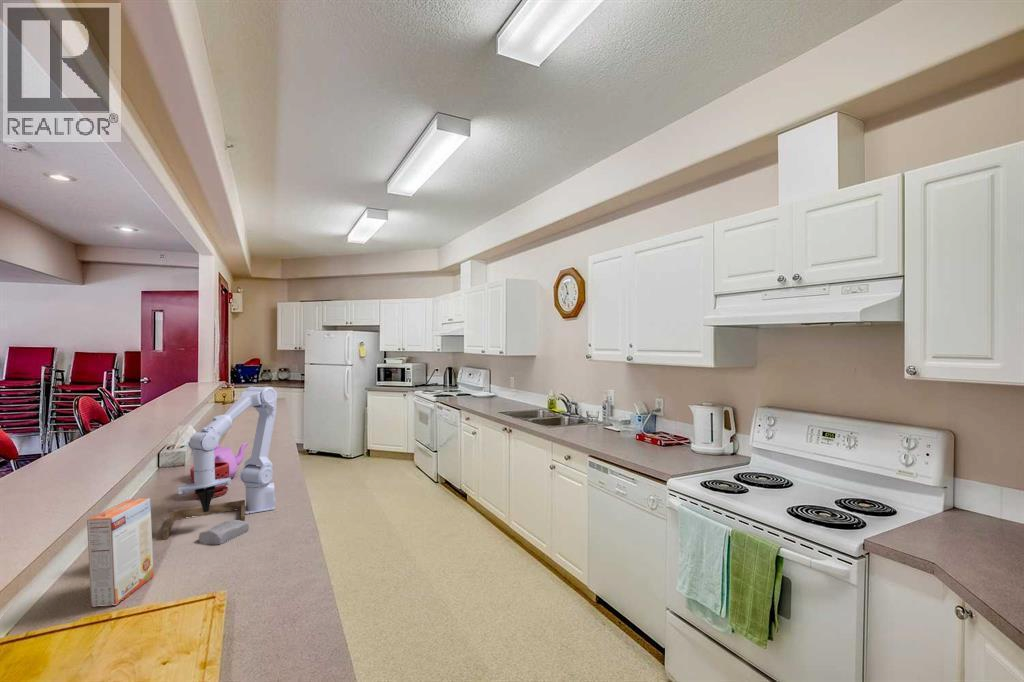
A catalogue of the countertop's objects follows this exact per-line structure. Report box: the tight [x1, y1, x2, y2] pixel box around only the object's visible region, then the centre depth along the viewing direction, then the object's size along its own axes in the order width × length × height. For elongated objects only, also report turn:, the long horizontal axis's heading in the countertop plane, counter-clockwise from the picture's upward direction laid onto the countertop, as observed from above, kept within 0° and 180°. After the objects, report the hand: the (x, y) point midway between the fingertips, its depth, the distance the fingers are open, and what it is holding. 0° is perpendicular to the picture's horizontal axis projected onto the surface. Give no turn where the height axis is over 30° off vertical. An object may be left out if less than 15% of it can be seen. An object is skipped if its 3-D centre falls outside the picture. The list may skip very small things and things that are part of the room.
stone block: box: [198, 519, 250, 545], centre depth 153 cm, size 12×5×10 cm
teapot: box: [192, 441, 251, 479], centre depth 217 cm, size 23×21×15 cm
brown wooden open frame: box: [162, 499, 246, 540], centre depth 165 cm, size 22×19×3 cm
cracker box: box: [86, 497, 155, 607], centre depth 120 cm, size 14×6×21 cm, turn 5°
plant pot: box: [189, 462, 229, 499], centre depth 193 cm, size 13×13×12 cm
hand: (205, 511), depth 158 cm, fingers closed
